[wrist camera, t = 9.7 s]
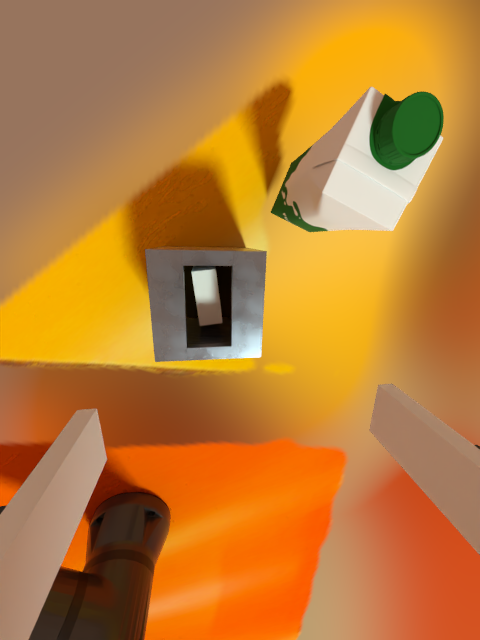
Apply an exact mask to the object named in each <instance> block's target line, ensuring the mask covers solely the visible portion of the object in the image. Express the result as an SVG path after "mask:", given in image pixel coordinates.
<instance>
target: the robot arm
mask: <svg viewBox="0 0 480 640" xmlns="http://www.w3.org/2000/svg"><path fill="white" fill-rule="evenodd" d="M370 431H371V433H372V434H373V435H374V436H375V437H376V438H377V439H378V440H379V442H380V443H381V444H382V445H383V446H384V447H385V448H386V450H387V451H388V452H389V453H390V454H391V455H392V456H393V457H394V459H395V460H396V461H397V462H398V463H399V464H400V465H401V467H402V468H403V469H404V470H405V471H406V472H407V473H408V474H409V476H410V477H411V478H412V479H413V480H414V481H415V482H416V483H417V485H418V486H419V487H420V488H421V489H422V490H423V491H424V493H425V494H426V495H427V496H428V497H429V498H430V499H431V500H432V501H433V503H434V504H435V505H436V506H437V507H438V508H439V509H440V511H441V512H442V513H443V514H444V515H445V516H446V517H447V518H448V519H449V521H450V522H451V523H452V524H453V525H454V526H455V528H457V530H458V531H459V532H460V533H461V534H462V535H463V536H464V538H465V539H466V540H467V541H468V542H469V543H470V545H471V546H472V547H473V548H474V549H475V550H476V551H477V552H478V554H479V555H480V446H478V445H473V444H472V443H470V442H469V441H468V440H466V439H465V438H464V437H462V436H461V435H459V434H458V433H457V432H456V431H454V430H453V429H452V428H450V427H449V426H448V425H446V424H445V423H444V422H442V421H441V420H440V419H438V418H437V417H436V416H434V415H433V414H432V413H430V412H429V411H428V410H426V409H425V408H424V407H422V406H421V405H419V404H418V403H417V402H416V401H414V400H413V399H412V398H410V397H409V396H408V395H406V394H405V393H404V392H402V391H401V390H400V389H398V388H397V387H396V386H394V385H393V384H384V385H378V389H377V394H376V399H375V404H374V410H373V415H372V420H371V425H370ZM106 461H107V457H106V452H105V447H104V443H103V437H102V432H101V427H100V422H99V417H98V412H97V409H86V410H77V411H76V413H75V414H74V415H73V417H72V418H71V420H70V421H69V422H68V424H67V425H66V426H65V428H64V429H63V430H62V432H61V433H60V434H59V436H58V437H57V438H56V440H55V441H54V443H53V444H52V445H51V447H50V448H49V449H48V451H47V452H46V453H45V455H44V456H43V457H42V459H41V460H40V462H39V463H38V464H37V466H36V467H35V468H34V470H33V471H32V472H31V474H30V475H29V476H28V478H27V479H26V480H25V482H24V483H23V485H22V486H21V487H20V489H19V490H18V491H17V493H16V494H15V495H14V497H13V498H12V499H11V501H10V502H9V504H8V505H7V506H1V507H0V640H144V638H145V631H146V624H147V617H148V610H149V603H150V596H151V589H152V582H153V574H154V568H155V564H156V562H157V560H158V557H159V555H160V552H161V550H162V547H163V545H164V543H165V540H166V538H167V535H168V532H169V526H170V511H169V509H168V507H167V506H166V504H165V503H164V502H163V501H161V500H160V499H158V498H157V497H155V496H152V495H149V494H145V493H124V494H120V495H116V496H114V497H111V498H109V499H108V500H106V501H105V502H103V503H102V504H101V505H100V506H99V507H98V508H97V509H96V511H95V513H94V515H93V518H92V520H91V523H90V525H89V529H88V539H87V551H86V563H85V567H84V570H83V572H80V571H77V570H73V569H69V568H66V567H62V566H61V564H62V562H63V559H64V557H65V555H66V552H67V550H68V548H69V545H70V543H71V541H72V539H73V536H74V534H75V532H76V529H77V527H78V525H79V523H80V520H81V518H82V516H83V513H84V511H85V509H86V506H87V504H88V502H89V500H90V497H91V495H92V493H93V490H94V488H95V486H96V484H97V481H98V479H99V477H100V474H101V472H102V470H103V467H104V465H105V463H106Z"/></svg>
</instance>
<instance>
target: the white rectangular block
mask: <svg viewBox="0 0 480 640" xmlns="http://www.w3.org/2000/svg"><path fill="white" fill-rule="evenodd" d="M191 273H192V279H193V286H194V292H195V298H196V305H197V311H198V318H199V324H200V326H203V325H210V324H217V323H223V321H222V313H221V305H220V297H219V289H218V281H217V273H216V268H215V266H193V269H192V271H191Z"/></svg>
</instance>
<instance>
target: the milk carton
mask: <svg viewBox="0 0 480 640" xmlns="http://www.w3.org/2000/svg"><path fill="white" fill-rule="evenodd" d="M442 128H443V110H442V107H441V104H440V102H439V101H438V99H437V98H436V97H435V96H434V95H432V94H431V93H428V92H417V93H414V94H412V95H410V96H408V97H407V98H405V99H404V100H402V101H394V100H393V99H392V98H391V97H389V96H388V95H386V94H385V95H382V94H381V93H380V92H379V91H377V90H376V89H375V88H373V87H370V88H369V89H368V90H367V91H366V92H365V93H364V95H363V96H362V97H361V98H360V99H359V100H358V101H357V102H356V103H355V104H354V105H353V106H352V107H351V108H350V110H349V111H348V112H347V113H346V114H345V115H344V116H343V117H342V118H341V119H340V120H339V121H338V122H337V123H336V124H335V125H334V126H333V128H332V129H331V130H330V131H328V132H327V133H326V134H325V135H324V136H323V137H321V138H320V139H319V140H318V141H317V142H316V143H315V144H313V145H312V146H311V147H310V148H309V149H308V150H306V152H304V153H303V154H302V155H301V156H299V157H298V158H297V159H296V160H295V161H293V162H292V163H291V165H290V168H289V170H288V172H287V175H286V177H285V180H284V182H283V184H282V187H281V189H280V191H279V194H278V196H277V199H276V201H275V203H274V206H273V208H272V211H271V213H273V214H275V215H277V216H279V217H280V218H282V219H284V220H286V221H288V222H290V223H292V224H294V225H296V226H298V227H300V228H302V229H304V230H306V231H308V232H318V231H333V230H347V229H351V230H386V231H393V229H394V227H395V226H396V224H397V222H398V220H399V218H400V216H401V215H402V213H403V211H404V209H405V207H406V205H407V204H408V203H410V201H411V200H412V198H413V196H414V194H415V193H416V190H417V187H418V185H419V183H420V182H421V180H422V178H423V176H424V174H425V172H426V170H427V168H428V167H429V165H430V163H431V161H432V159H433V157H434V155H435V153H436V151H437V150H438V148H439V146H440V144H441V142H442V140H443V138H442V136H440V135H441V132H442Z"/></svg>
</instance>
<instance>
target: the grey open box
mask: <svg viewBox="0 0 480 640" xmlns="http://www.w3.org/2000/svg"><path fill="white" fill-rule="evenodd" d="M266 252H267V251H261V250H256V249H250V248H235V247H182V246H163V247H156V248H150V249H145V254H146V265H147V276H148V287H149V298H150V309H151V321H152V332H153V343H154V354H155V362H160V361H183V360H206V359H230V358H253V357H261V347H262V329H263V310H264V291H265V272H266ZM184 266H232V270H231V317H222V321H223V323H217V324H210V325H203V326H200V324H199V318H186V304H185V282H184Z"/></svg>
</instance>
